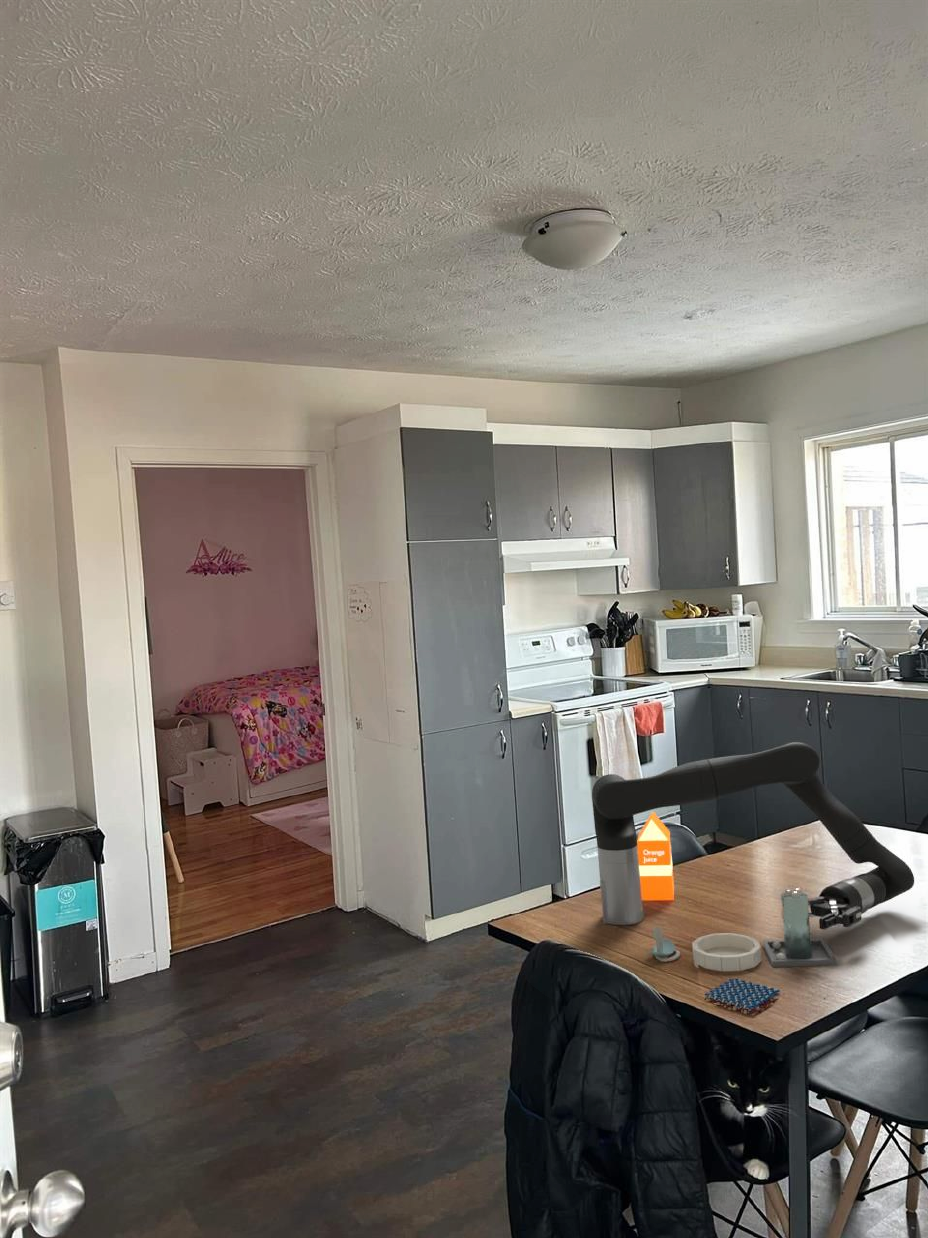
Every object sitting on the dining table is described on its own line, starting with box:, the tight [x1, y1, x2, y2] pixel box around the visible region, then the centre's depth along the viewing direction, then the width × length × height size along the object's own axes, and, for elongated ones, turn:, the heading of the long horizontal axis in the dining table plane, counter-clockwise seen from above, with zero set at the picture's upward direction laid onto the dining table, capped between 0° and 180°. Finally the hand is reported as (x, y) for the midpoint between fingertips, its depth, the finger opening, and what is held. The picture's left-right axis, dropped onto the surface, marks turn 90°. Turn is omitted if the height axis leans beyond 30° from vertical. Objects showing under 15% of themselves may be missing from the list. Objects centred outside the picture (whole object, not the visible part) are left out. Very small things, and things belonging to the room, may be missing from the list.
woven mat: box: [704, 978, 781, 1016], centre depth 175 cm, size 10×11×2 cm
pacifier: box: [646, 925, 681, 963], centre depth 198 cm, size 7×6×6 cm
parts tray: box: [762, 938, 838, 968], centre depth 191 cm, size 12×11×3 cm
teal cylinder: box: [780, 887, 812, 959], centre depth 191 cm, size 5×5×13 cm
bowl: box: [691, 932, 762, 972], centre depth 193 cm, size 13×13×4 cm
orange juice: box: [637, 810, 675, 901], centre depth 238 cm, size 8×9×20 cm
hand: (801, 919), depth 192 cm, fingers open, 8 cm apart
